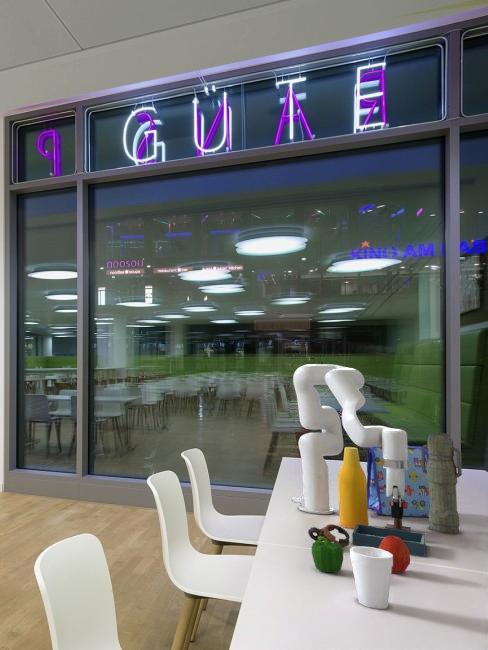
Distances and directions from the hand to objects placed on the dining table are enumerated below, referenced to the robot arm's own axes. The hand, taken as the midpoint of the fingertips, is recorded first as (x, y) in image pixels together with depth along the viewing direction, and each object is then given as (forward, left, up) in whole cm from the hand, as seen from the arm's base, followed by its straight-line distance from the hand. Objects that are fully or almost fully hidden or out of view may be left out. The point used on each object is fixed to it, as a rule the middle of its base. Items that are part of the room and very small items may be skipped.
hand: (397, 515), depth 211 cm
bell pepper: (-15, -52, -8) cm, 55 cm away
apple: (+1, -41, -8) cm, 42 cm away
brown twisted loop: (-18, -27, -8) cm, 33 cm away
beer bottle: (-14, +6, -8) cm, 17 cm away
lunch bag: (-1, +40, -8) cm, 41 cm away
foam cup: (-2, -72, -8) cm, 72 cm away
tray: (-2, -13, -7) cm, 15 cm away
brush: (0, 0, -7) cm, 7 cm away
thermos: (+13, +20, -8) cm, 25 cm away
